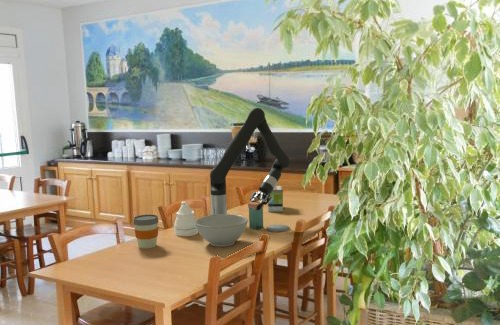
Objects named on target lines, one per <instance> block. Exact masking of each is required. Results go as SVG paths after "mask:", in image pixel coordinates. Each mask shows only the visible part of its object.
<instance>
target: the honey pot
mask: <svg viewBox="0 0 500 325" xmlns="http://www.w3.org/2000/svg"><path fill="white" fill-rule="evenodd" d="M180 203H181V205H180V208H179V209H178V211H177V212H175V214H176V218H175V221H174V225H173V229H174V236H177V237H189V236H190V237H191V236H195V235H196V234H198V233H199V232H198V230H197V227H196V224H195V221H196V220H197V219H196V216H195V215H194V214H195V211H194V210H192V208H191V207H190V206H189V205H188V204H187V202H186V201H180Z"/></svg>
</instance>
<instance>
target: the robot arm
mask: <svg viewBox="0 0 500 325" xmlns="http://www.w3.org/2000/svg"><path fill="white" fill-rule="evenodd" d="M256 130H258V131H259V133H260V135H261V138H262V140H263V141H264V144H265V146H266V148H267V149H268V151H269V154H270V155H271V156H273V157H275V158H276V159H275V160H274V161H273V163H272V166H271V169H270V171H268V174H267V176H265V178H264V179H263V181H262V182H261V184H260V185H259V188H258V191H254V190H253V192H252V193H251V195H250V197H249V201H250V202H256V201H257V202H260V203H259V205H258V206H257V210H260V209H261V207H262V206H266V205H268V202H269V200H270V199H271V198H272V197H271V195H270V194H271V192H272V191H273V189H274V187H275V186H277V184H278V182H279V180H280V179H281V177H282V171H283V170H285V169H286V168H289V166H290V165H291V160H290V158H289V156H288V155H287V154H286V152H285V151H284V150H283V149H282V147H281V145H280V144H279V142H278V140H277V138H276V136H275V135H274V133H273V131H272V130H271V128H270V126H269V124H268V122H267V119H266V114H265V111H264V110H263V109H262V108H260V107H255V108H252V109H251V110H250V111H249V113H248V115H247V118H246V119H245V122H244V123H243V125H242V126H241V127H240V129H239V130H238V131H237V132H236V134H235V135H234V136H233V138H232V139H231V140H230V142H229V143H228V145H227V147H226V148H225V151H224V153H223V154H222V155H223V156H222V157H221V158H220V161H219V162H218V163H217V164H216V166H215V167H213V168H212V169H211V170H210V172H209V180H210V181H209V182H210V206H209V211H210V212H209V214H210V215H219V214H228V210H227V209H228V208H227V207H228V206H227V204H228V203H227V181H226V180H227V178H226V177H227V175H228V173H229V171H230V170H231V168H232V167H233V165H234V163H236V161H237V160H238V159H239V158H240V156H241V155H242V153H243V152H244V150H245V149H246V148H247V146H248V144H249V142H250V141H251V138H252V136H253V134H254V132H255V131H256ZM210 215H209V216H210Z"/></svg>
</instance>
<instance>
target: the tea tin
mask: <svg viewBox="0 0 500 325" xmlns="http://www.w3.org/2000/svg"><path fill="white" fill-rule="evenodd" d="M248 221H249V222H248V225H249V226H248V227H249V229H252V230H255V229H256V230H259V229H264V207H262V208H261V209H260V210H257V209H253V208H249V207H248Z"/></svg>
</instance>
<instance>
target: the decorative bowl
mask: <svg viewBox="0 0 500 325" xmlns="http://www.w3.org/2000/svg"><path fill="white" fill-rule="evenodd" d="M248 221H249V218H247V217H246V216H243V215H238V214H230V213H229V214H228V213H227V214H219V215H206V216H202V217H199V218H197V219H196V221H195V224H196V227H197V230H198V233H199V235H200V236H201V237H202V238H203V239H204V240H205V241H206V242H208V243H209V244H210V245H211V246H213V247H217V248H218V247H220V248H221V247H222V248H224V247H229V246H232V245H234V244H235V242H236V241H237V240H239V239H240V238H241V236H243V234H244V232H245V230H246V228H247V226H248V223H249V222H248Z"/></svg>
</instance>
